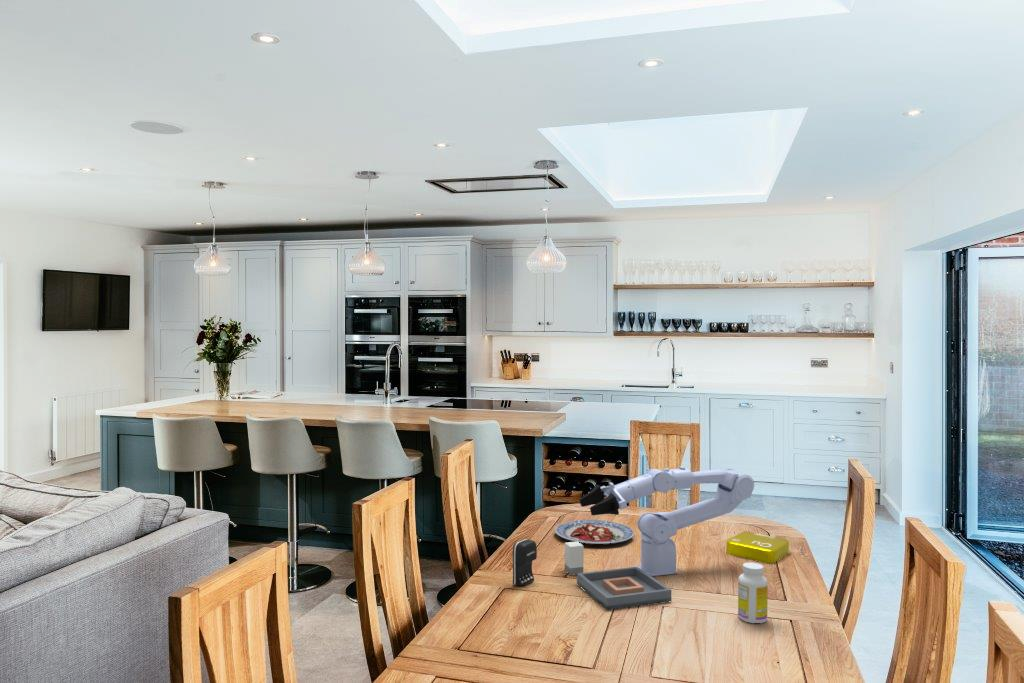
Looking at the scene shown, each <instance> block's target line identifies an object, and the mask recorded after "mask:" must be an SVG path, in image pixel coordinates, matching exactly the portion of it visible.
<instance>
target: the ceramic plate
mask: <svg viewBox="0 0 1024 683" xmlns="http://www.w3.org/2000/svg"><path fill="white" fill-rule="evenodd" d="M554 531H555V534H556V535H557V536H559V537H561V538H562V539H565V540H568V541H570V542H577V541H578V542H580V543H581V544H584V543H585V544H586V545H593V544H603V545H610V543H611V544H616V543H617V544H618V543H622V542H625V541H628V540H630V539H632V538H633V537H634V535H635V531H634V530H633V529H632V528H631V527H629V526H627V525H625V524H621V523H620V522H615V521H608V520H601V519H600V520H599V519H581V520H580V519H578V520H571V521H566V522H563V523H560V524H559V525H557V526H555V529H554Z"/></svg>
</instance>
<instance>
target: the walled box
mask: <svg viewBox="0 0 1024 683" xmlns="http://www.w3.org/2000/svg"><path fill="white" fill-rule="evenodd" d="M577 584H578V585H579V586H580V587H582V588H583V589H584V590H585V591H586V592H587V593H588V594H587V593H586V592H585V591H584V590H583V589H582V588H581V589H582V590H583V591H584V592H585V593H586V594H587V595H589V596H590V598H592V597H593V598H594V599H595V601H596V602H597V603H598V604H599V605H600V604H601V605H602V606H601V605H600V606H601V607H602V608H604V609H605V608H606V609H607V610H606V609H605V610H606V611H612V610H611V609H613V610H618V609H619V610H620V609H625V608H626V609H627V607H628V608H634V607H633V606H635V607H641V605H643V606H649V605H648V604H650V605H655V604H654V603H658V604H662V603H661V602H665V603H670V602H669V601H671V602H672V589H671V588H670V587H668V586H667V585H665V584H663V583H662V582H661V581H659V580H657V579H656V578H654V576H650V575H649V574H647V573H646V572H644V571H643V570H641V569H640V568H638V567H635V566H631V567H625V568H623V567H621V568H614V569H613V568H612V569H606V570H596V571H588V572H583V573H577V576H576V585H577ZM578 585H577V586H578ZM579 586H578V587H579ZM580 587H579V588H580ZM593 598H592V599H593ZM594 599H593V600H594Z"/></svg>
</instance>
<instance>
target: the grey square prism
mask: <svg viewBox="0 0 1024 683" xmlns="http://www.w3.org/2000/svg"><path fill="white" fill-rule="evenodd" d="M584 549H585V548H584V545H583V543H579V542H578V541H577V542H575V541H569V542H564V570H565V571H566V573H567V572H568V573H569V574H570V575H569V574H568V573H567V574H568V575H569V576H574V575H573V574H577V573H584V553H585V552H584ZM565 571H564V572H565Z"/></svg>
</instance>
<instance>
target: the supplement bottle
mask: <svg viewBox="0 0 1024 683" xmlns="http://www.w3.org/2000/svg"><path fill="white" fill-rule="evenodd" d="M742 571H743V573H741V574H740V575H739V576H738V580H737V584H738V585H737V586H738V587H737V588H738V591H737V615H738V617H739V619H740V620H741V621H743V622H745V623H748V622H749V624H754V623H760V624H763V623H765V622H767V620H768V594H769V593H768V589H769V588H768V586H769V585H768V584H769V583H768V579H767V578H766V576H764V574H763V573H764V565H763V564H760V563H757V562H745V563H743V564H742Z"/></svg>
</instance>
